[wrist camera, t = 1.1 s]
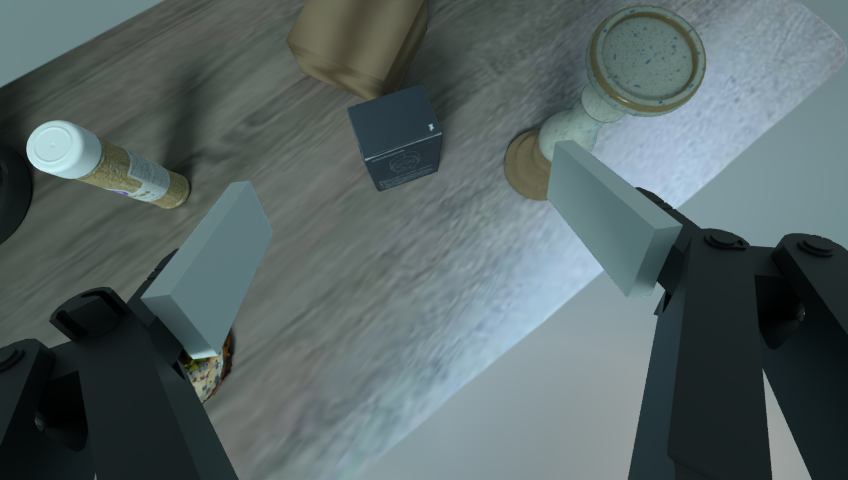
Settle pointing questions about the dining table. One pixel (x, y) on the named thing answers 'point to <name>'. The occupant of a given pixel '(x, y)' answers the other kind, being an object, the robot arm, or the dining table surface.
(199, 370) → the burger
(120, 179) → the sprinkles bottle
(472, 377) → the dining table surface
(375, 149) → the box
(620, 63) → the candle holder
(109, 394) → the robot arm
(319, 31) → the tan square block
